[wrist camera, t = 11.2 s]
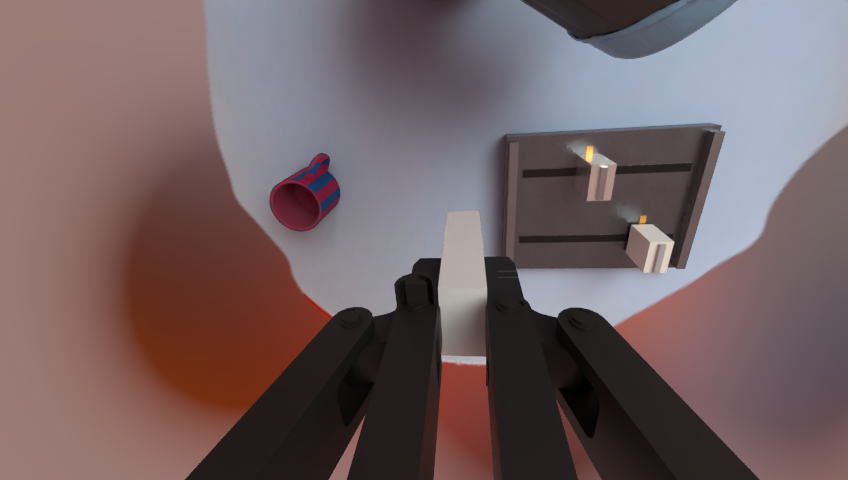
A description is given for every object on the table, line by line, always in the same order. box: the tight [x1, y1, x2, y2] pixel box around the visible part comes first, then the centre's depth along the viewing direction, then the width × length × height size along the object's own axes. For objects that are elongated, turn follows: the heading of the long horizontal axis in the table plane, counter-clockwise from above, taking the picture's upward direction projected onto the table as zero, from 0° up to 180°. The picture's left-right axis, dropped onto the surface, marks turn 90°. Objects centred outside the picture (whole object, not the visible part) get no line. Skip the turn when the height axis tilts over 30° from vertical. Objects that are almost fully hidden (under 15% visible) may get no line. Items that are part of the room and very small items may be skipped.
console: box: [502, 123, 725, 269], centre depth 41 cm, size 18×23×7 cm
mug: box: [270, 153, 340, 231], centre depth 45 cm, size 7×10×7 cm
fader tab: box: [626, 224, 674, 273], centre depth 41 cm, size 4×2×5 cm, turn 4°
